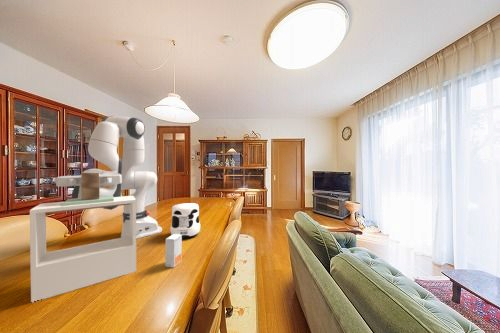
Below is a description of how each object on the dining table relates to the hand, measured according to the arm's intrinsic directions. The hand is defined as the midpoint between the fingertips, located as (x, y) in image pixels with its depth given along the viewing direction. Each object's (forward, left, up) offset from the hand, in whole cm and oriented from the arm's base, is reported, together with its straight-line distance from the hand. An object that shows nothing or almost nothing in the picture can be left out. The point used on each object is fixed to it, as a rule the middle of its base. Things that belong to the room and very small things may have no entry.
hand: (90, 181), depth 71 cm
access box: (0, -1, -37) cm, 37 cm away
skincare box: (-28, +8, -37) cm, 47 cm away
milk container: (-43, -22, -37) cm, 61 cm away
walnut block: (0, -1, -7) cm, 7 cm away
